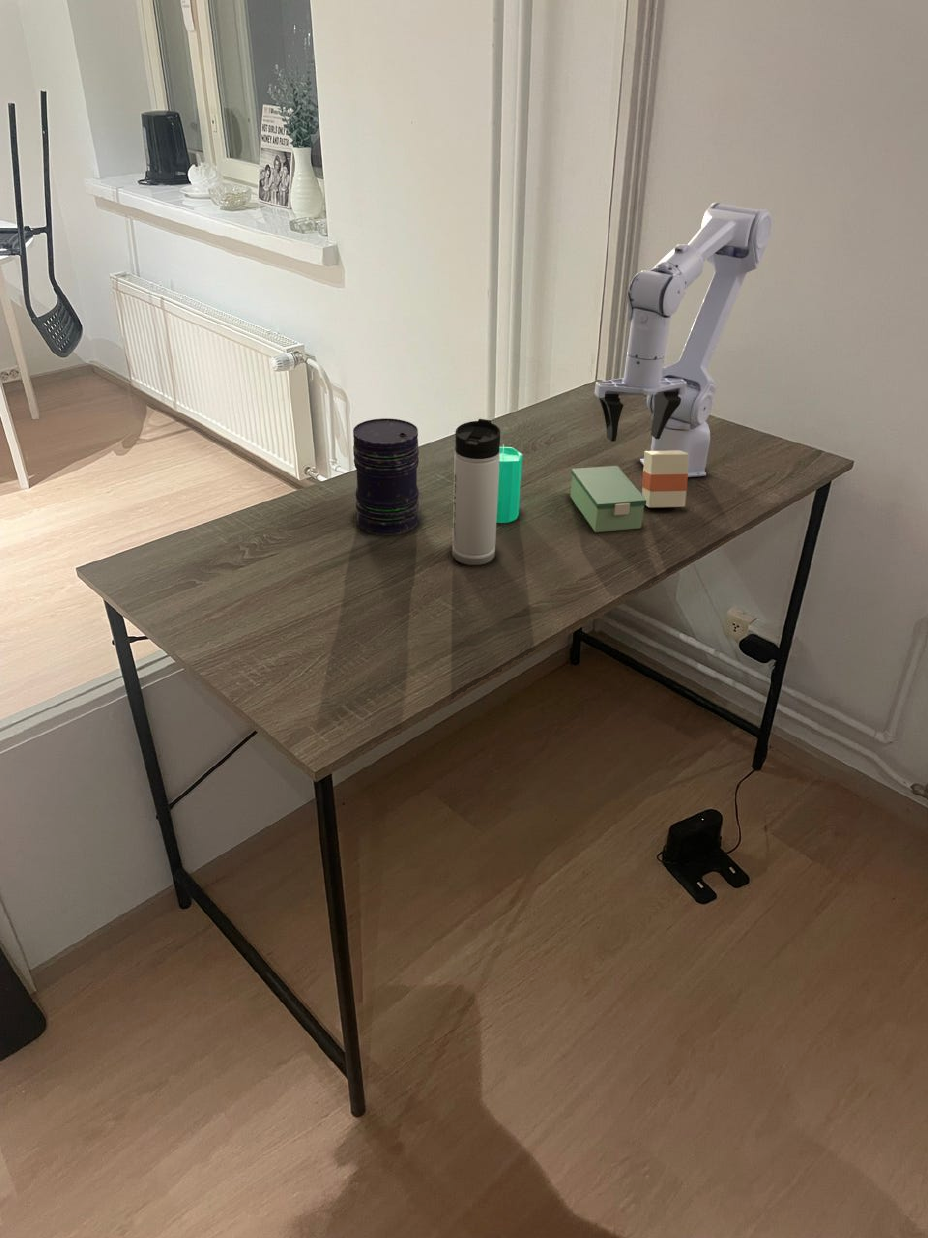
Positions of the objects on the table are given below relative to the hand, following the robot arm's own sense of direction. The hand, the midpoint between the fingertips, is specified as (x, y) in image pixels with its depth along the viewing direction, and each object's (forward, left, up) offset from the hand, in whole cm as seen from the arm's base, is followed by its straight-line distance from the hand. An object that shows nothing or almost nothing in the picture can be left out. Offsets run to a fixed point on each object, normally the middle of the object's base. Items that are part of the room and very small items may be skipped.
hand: (633, 438), depth 147 cm
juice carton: (-5, +5, -10) cm, 12 cm away
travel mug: (+29, +15, -11) cm, 35 cm away
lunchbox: (+5, +5, -10) cm, 13 cm away
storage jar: (+40, +2, -11) cm, 42 cm away
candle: (+22, +3, -11) cm, 25 cm away
